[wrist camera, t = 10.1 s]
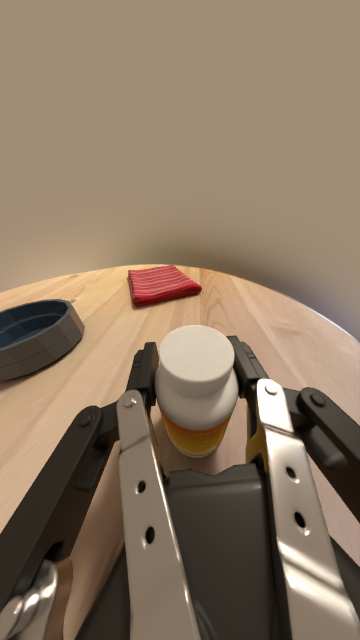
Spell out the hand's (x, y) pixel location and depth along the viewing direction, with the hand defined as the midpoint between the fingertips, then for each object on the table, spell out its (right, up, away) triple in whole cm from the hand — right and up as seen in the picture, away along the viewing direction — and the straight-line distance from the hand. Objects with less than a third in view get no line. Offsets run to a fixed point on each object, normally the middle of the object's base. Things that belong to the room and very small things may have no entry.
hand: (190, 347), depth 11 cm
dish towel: (-7, +13, +31) cm, 34 cm away
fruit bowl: (-24, -2, +12) cm, 27 cm away
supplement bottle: (+1, -7, +2) cm, 8 cm away
